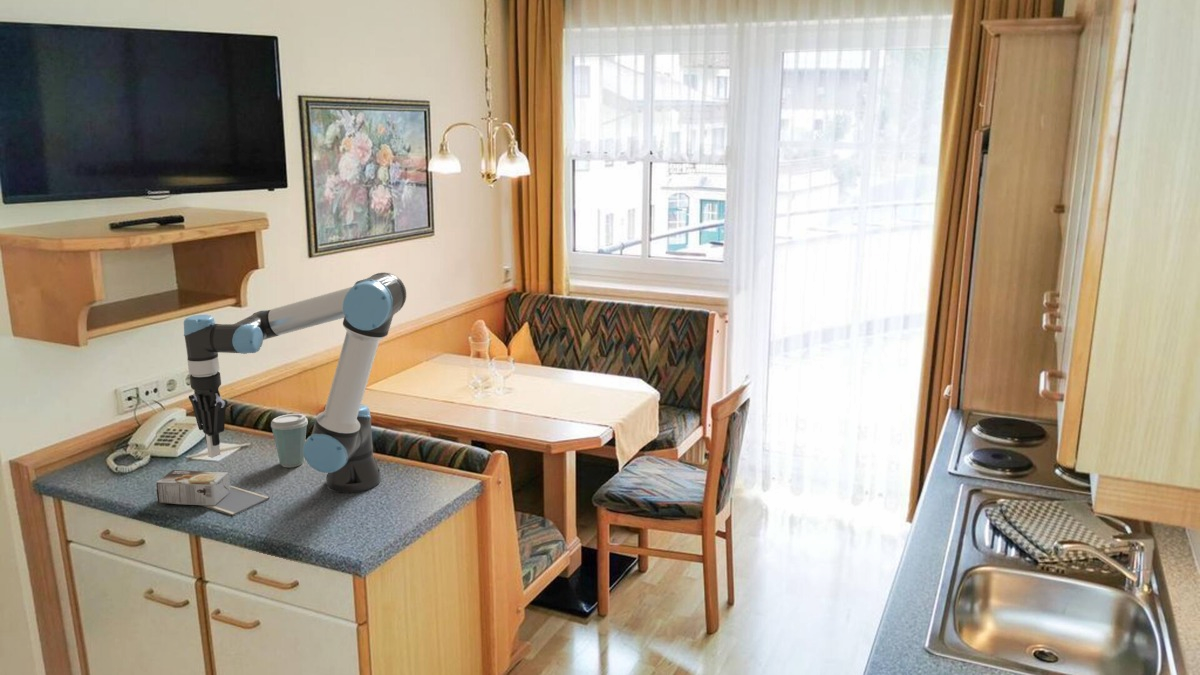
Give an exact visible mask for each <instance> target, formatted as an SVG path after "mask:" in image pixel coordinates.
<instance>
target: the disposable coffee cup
mask: <svg viewBox="0 0 1200 675" xmlns="http://www.w3.org/2000/svg"><path fill="white" fill-rule="evenodd" d="M308 423H309V420H308V418H307V417H306V414H303V413H289V414H284V415H278V416H277V417H275V418H273V419H272V420H271V422H270V428H271V430H272V435H273V439H274V443H275V449H276V452H277V457H278V460H279V464H280V465H281V466H282V467H283V468H297V467H300V466H301V465H303V462H304V460H305V458H304V455H303V446H304V443H305V441H306V439H307V438H306V435H307V426H308Z"/></svg>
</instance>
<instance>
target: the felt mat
mask: <svg viewBox="0 0 1200 675" xmlns="http://www.w3.org/2000/svg"><path fill="white" fill-rule="evenodd" d="M268 499H269V500H270V497H269V496H267V495H263V494H260V493H257V492H253V491H250V490H246V489H243V488H240V487H237V486H234V485H231V484H230V493H229V494H228V495H227V496H226V497H225V498H223V499H222V500H221V501H220V502H219V503H217V504H216V505H215V506H212V505H199V506H201V507H204V508H207V509H210V510H213V511H216V512H219V513H222V514H225V515H228V516H231V515H232V517H234V516H236V515H235V514H237V515H238V513H239V514H240V512H241V513H243V512H245V511H247V510H249V509H251V507H252V508H253V506H254V507H256V506H258V505H260V504H262V503H264V502H266V500H267V501H268ZM261 502H262V503H261ZM259 503H260V504H259ZM257 504H258V505H257ZM255 505H256V506H255ZM248 508H249V509H248ZM246 509H247V510H246ZM244 510H245V511H244ZM242 511H243V512H242ZM233 515H234V516H233Z"/></svg>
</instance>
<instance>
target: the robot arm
mask: <svg viewBox="0 0 1200 675" xmlns="http://www.w3.org/2000/svg"><path fill="white" fill-rule="evenodd" d="M406 300H407V289H406V286H405V284H404V282H403V281H402V279H400V278H399V277H398V275H395V274H393V273H391V272H378V273H374V274H373V275H371V276H369V277H367V278H363V279H361V280H357V281H355V283H354V285H353V286H350V287H346V288H343V289H339V290H336V291H332V292H328V293H325V294H321V295H318V296H314V297H311V298H307V299H303V300H300V301H296V302H293V303H289V304H286V305H280V306H279V307H275V308H274V307H273V308H271V309H263V310H259V311H257V312H254V313H252V314H251V315H249V316H248V317H244V318H243V319H242V320H239V321H237V322H235V323H232V324H231V323H230V324H229V323H228V324H226V323H224V324H223V323H216V321H215V318H214V316H212V315H209V314H196V315H190V316H188V317H185V318H184V320H183V332H184V333H183V336H184V341H185V348H186V355H187V357H186V358H187V366H188V367H187V368H188V373H189V374H190V375H189V382H190V389H192V390H194V391H193V394H190V395H188V399H189V402H190V403H191V406H192V409H193V412H194V417H195V420H196V423H197V427H198V430H199V431H202V432H203V434H204V436H205V443H206V447H207V455H208V458H212V459H213V458H215V457H218V456H220V455H221V448H220V444H221V442H220V441H221V440H220V433H223V432H225V422H226V408H227V406H228V400H227V399H224V400H223V399H222V397H221V392H220V390H219V388H220V387H221V385H222V378H221V372H220V362H219V353H221V354H222V353H224V354H226V353H227V354H243V355H245V354H246V355H247V354H255V353H258V352H259V351H260V349H261V348H262V346H263V342H264V341H265V340H268V339H271V338H276V337H279V336H281V335H285V334H290V333H292V332H297V331H300V330H303V329H308V328H310V327H311V328H312V327H315V326H318V325H319V326H320V325H322V324H323V325H324V324H326V323H330V322H333V321H337V320H338V321H339V320H342V319H343V321H342V325H343V328H344V329H345V330H346V333H345V336H344V340H343V343H342V347H341V351H340V353H339V354H340V355H339V358H338V361H337V365H336V368H335V372H334V376H333V380H332V382H331V386H330V389H329V393H328V396H327V401H326V404H325V407H324V411H321V412H319V413H318V414H317V415H316V418H315V422H314V424H313V428H312V432H311V434H310V435H309V436H308V437H307V438H305V443H304V446H303V455H304V460H305V461H306V462H307V464H308V465H309V466H310V467H311V468H312V469H313V470H315V471H317V472H320V473H324V474H326V478H325V480H326V481H325V482H326V487H327V488H328V489H329V490H331V491H333V492H336V493H346V494H347V493H357V492H363V491H367V490H370V489H372V488H374V487H376V486H377V485H379V484H380V483H381V481H382V478H381V477H382V474H381V473H382V472H381V470H380V468H379V466H378V463H377V460H376V458H375V455H374V449H373V433H372V416H371V411H370V407H368V406H367V405H365V404H362V402H363V398H364V395H365V392H366V388H367V384H368V382H369V378H370V376H371V375H370V374H371V372H372V371H371V370H372V368H373V365H374V362H375V361H374V360H375V357H376V354H377V350H378V347H379V344H380V341H381V340H383V339H386V337H387V336H388V334H389V331H390V329H391V328H390V327H391V324H392V321H393V318H394V315H396V314H397V313H398V312H399V311H401V310H402V308H403V307H404V306H405V303H406Z"/></svg>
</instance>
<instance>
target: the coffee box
mask: <svg viewBox="0 0 1200 675" xmlns="http://www.w3.org/2000/svg"><path fill="white" fill-rule="evenodd" d="M230 485H231V482H230V472H229V471H228V472H226V471H205V470H204V471H202V470H200V471H199V470H181V469H179V470H176V469H173V470H171V471H170V472H169V473H167V474H166V475H164V476H162V477H161V478H160V479H159V480H157V481H156V496H157V497H156V498H157V504H164V505H166V504H170V505H171V504H172V505H174V504H175V505H190V506H191V505H192V506H194V505H195V506H200V505H212V506H215V505H216V504H217V503H219V502H220V501H221V500H222V499H223V498H225V497H226V496H227V495H228V494H229V493H230Z"/></svg>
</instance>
